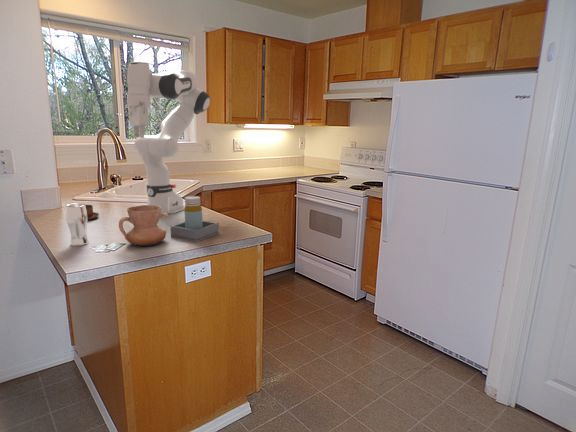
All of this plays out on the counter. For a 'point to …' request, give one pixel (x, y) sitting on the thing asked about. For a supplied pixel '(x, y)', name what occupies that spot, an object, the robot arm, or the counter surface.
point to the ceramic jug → (144, 225)
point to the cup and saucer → (90, 212)
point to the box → (194, 231)
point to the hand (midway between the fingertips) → (139, 137)
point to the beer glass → (77, 223)
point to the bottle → (193, 213)
